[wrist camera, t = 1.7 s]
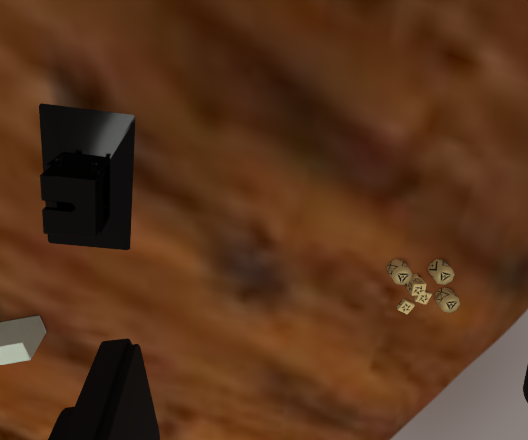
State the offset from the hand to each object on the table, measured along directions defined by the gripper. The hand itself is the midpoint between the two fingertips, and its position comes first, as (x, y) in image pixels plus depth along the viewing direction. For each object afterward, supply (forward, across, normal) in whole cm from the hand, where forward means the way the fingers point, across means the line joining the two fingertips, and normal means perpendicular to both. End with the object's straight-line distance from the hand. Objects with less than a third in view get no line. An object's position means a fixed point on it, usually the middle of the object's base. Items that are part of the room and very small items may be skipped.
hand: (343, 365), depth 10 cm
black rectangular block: (+21, +12, +1) cm, 24 cm away
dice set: (+21, -11, +11) cm, 26 cm away
